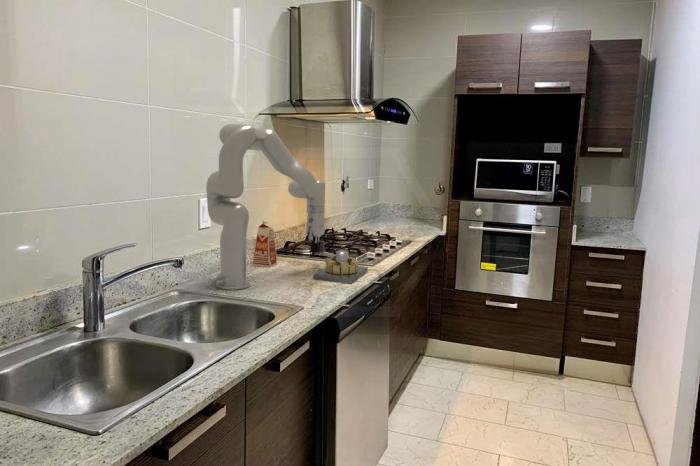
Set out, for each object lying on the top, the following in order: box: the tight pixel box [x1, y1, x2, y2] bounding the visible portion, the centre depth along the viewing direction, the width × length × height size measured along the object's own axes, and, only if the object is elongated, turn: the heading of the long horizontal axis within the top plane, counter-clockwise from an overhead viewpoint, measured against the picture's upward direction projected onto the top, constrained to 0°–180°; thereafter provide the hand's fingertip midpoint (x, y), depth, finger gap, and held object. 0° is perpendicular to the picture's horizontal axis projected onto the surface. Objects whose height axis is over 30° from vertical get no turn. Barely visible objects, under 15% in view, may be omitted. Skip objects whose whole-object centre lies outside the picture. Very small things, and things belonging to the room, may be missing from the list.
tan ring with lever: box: [316, 240, 359, 274], centre depth 218 cm, size 23×13×10 cm, turn 42°
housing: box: [312, 250, 369, 285], centre depth 215 cm, size 22×16×10 cm
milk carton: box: [251, 220, 278, 268], centre depth 228 cm, size 9×9×20 cm
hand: (314, 251), depth 221 cm, fingers closed
